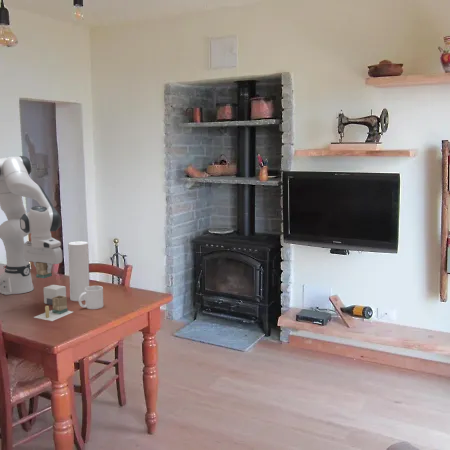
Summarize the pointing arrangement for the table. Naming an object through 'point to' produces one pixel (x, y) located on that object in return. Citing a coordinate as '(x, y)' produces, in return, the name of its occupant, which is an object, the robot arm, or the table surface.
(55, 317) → the pin board
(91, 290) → the mug
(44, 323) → the table surface
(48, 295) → the white box
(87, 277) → the cylinder container
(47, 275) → the sleeve
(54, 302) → the sleeve seated
